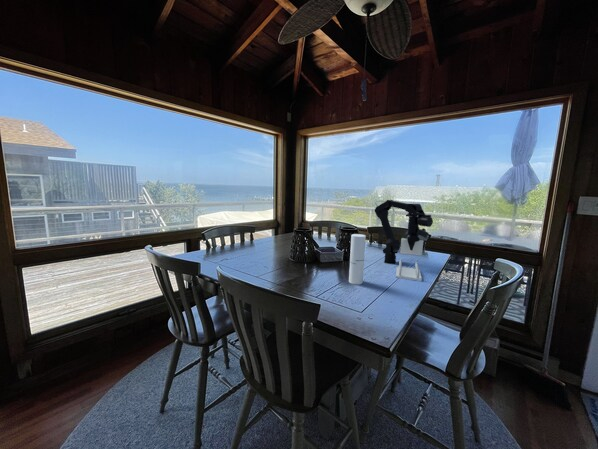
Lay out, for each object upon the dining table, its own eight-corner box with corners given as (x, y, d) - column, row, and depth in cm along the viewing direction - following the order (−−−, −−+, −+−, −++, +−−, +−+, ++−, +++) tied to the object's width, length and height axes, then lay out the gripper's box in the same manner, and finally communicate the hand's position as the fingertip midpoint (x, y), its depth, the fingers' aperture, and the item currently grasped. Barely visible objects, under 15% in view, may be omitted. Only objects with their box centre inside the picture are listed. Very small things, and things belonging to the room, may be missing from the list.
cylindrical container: (362, 285, 129) (366, 237, 126) (348, 283, 131) (351, 236, 127) (362, 280, 136) (365, 234, 132) (348, 278, 138) (351, 233, 134)
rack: (395, 277, 141) (396, 267, 140) (396, 268, 158) (397, 259, 157) (421, 281, 137) (422, 271, 136) (419, 271, 153) (420, 261, 152)
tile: (400, 253, 156) (401, 239, 155) (400, 252, 158) (401, 238, 157) (421, 255, 152) (423, 240, 151) (421, 254, 154) (422, 240, 153)
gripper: (430, 227, 141) (427, 255, 144) (426, 223, 159) (423, 247, 161) (408, 226, 145) (406, 252, 147) (406, 222, 162) (404, 246, 165)
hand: (411, 249), depth 155 cm, fingers closed on tile, 2 cm apart
